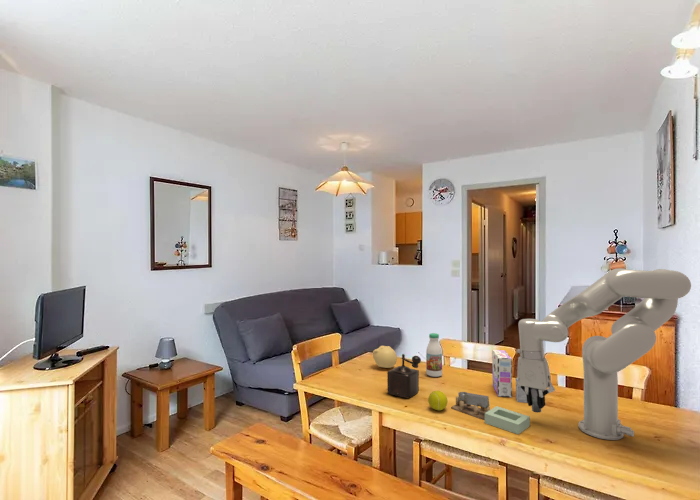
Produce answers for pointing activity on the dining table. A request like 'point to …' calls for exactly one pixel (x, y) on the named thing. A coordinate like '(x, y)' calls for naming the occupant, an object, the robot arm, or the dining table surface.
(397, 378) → the manual coffee grinder
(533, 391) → the pin
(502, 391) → the candy box
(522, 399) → the medicine box
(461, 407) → the peg rack
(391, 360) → the beige rounded lump
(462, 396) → the spanner bar
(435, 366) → the milk bottle
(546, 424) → the dining table surface
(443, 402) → the tennis ball
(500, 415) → the slot block
